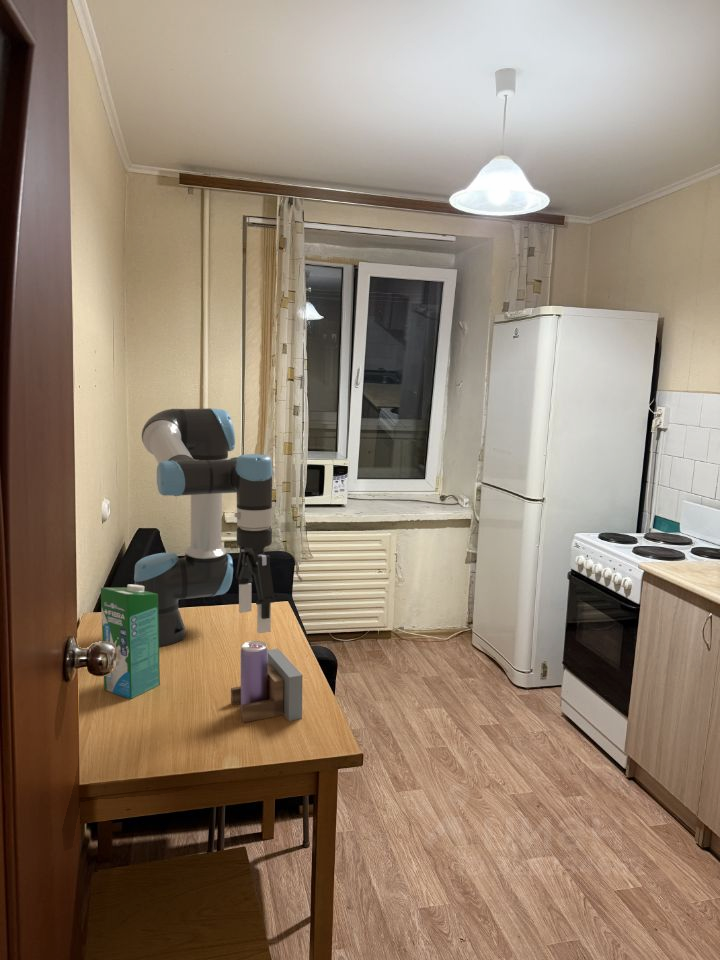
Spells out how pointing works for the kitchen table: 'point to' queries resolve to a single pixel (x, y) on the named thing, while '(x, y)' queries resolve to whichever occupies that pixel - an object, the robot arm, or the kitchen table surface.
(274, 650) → the backstop
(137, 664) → the milk carton
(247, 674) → the beverage can
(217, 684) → the kitchen table surface
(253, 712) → the bracket
